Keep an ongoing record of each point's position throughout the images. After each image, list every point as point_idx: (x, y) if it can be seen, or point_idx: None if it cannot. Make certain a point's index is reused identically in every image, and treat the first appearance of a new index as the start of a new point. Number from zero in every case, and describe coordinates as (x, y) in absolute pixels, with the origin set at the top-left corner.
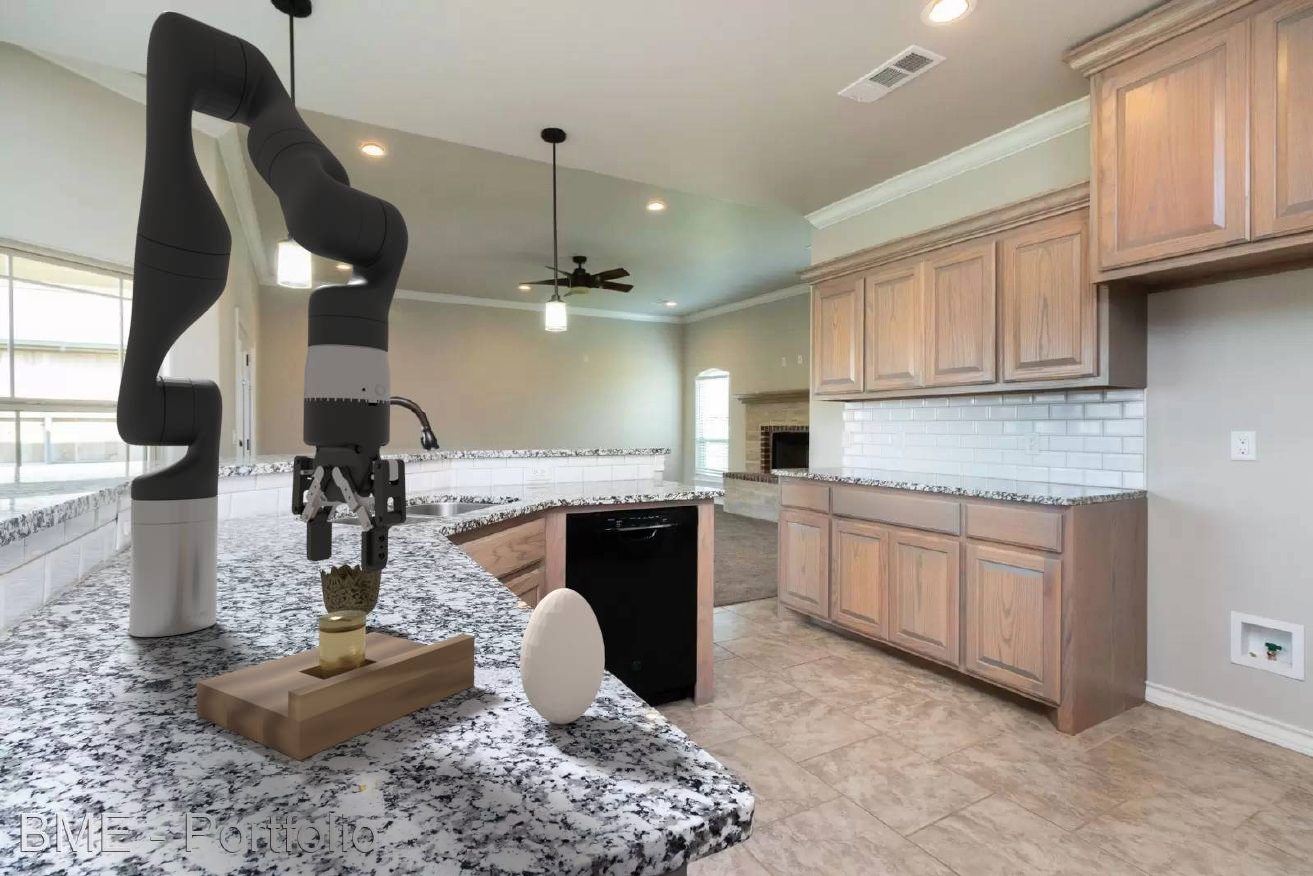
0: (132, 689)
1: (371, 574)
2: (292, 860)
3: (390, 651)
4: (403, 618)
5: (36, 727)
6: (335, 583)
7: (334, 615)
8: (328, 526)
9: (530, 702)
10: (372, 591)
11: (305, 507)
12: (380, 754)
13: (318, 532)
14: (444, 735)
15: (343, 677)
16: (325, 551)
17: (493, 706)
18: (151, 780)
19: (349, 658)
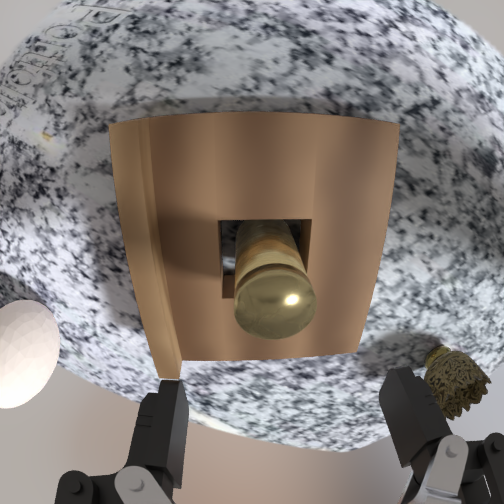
0: (494, 143)
1: None
2: (10, 61)
3: None
4: None
5: (473, 46)
6: (463, 379)
7: (293, 304)
8: (402, 455)
9: (34, 304)
10: None
11: (463, 471)
12: (86, 180)
13: (409, 432)
14: (80, 243)
15: (129, 200)
16: (387, 402)
17: (106, 309)
18: (236, 9)
19: (236, 264)
